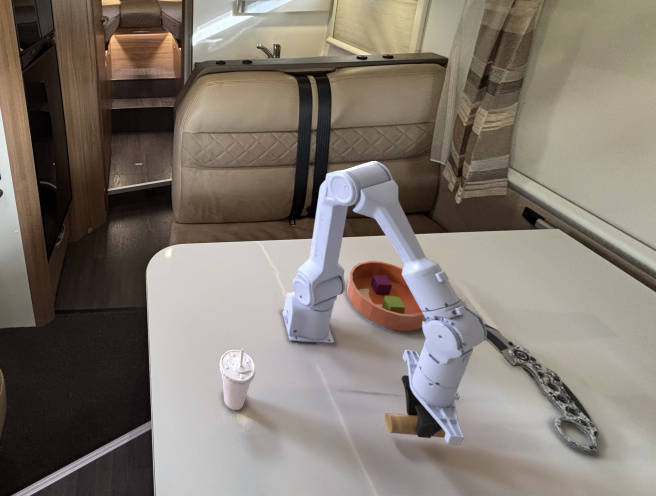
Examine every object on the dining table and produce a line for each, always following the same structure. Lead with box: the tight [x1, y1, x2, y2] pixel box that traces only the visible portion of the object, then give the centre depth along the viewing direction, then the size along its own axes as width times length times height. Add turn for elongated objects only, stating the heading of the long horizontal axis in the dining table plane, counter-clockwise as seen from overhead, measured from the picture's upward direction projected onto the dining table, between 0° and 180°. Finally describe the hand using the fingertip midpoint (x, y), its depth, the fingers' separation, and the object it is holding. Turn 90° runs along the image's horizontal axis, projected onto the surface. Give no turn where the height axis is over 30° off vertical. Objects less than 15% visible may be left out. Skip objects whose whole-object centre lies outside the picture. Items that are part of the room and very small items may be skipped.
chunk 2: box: [382, 296, 405, 314], centre depth 99 cm, size 3×3×3 cm
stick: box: [383, 412, 445, 439], centre depth 74 cm, size 10×3×3 cm, turn 85°
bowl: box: [346, 260, 426, 332], centre depth 102 cm, size 17×17×5 cm
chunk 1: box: [371, 275, 392, 295], centre depth 105 cm, size 3×3×3 cm
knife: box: [484, 323, 600, 455], centre depth 85 cm, size 28×2×10 cm
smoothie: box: [219, 347, 256, 411], centre depth 78 cm, size 6×6×14 cm
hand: (418, 425), depth 74 cm, fingers closed on stick, 3 cm apart
